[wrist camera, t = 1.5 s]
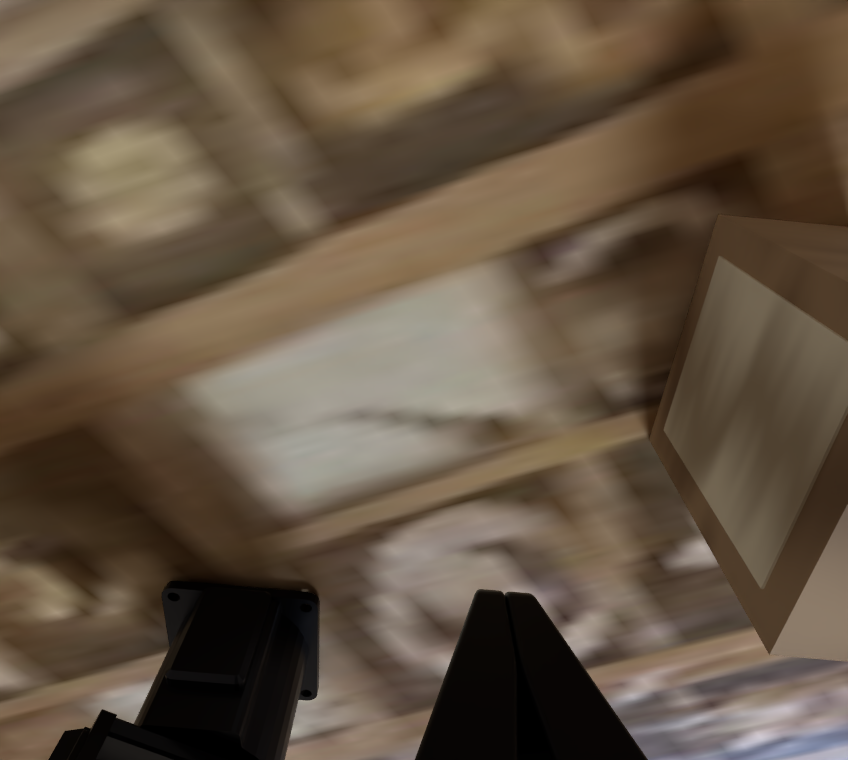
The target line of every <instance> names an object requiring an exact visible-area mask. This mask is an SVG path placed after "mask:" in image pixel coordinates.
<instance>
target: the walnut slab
mask: <svg viewBox="0 0 848 760" xmlns="http://www.w3.org/2000/svg"><path fill="white" fill-rule="evenodd" d="M649 440H650V442H651V444H652V445H653V447H654V449H655V451H656V453H657V454H658V456H659V458H660V460H661V462H662V463H663V465H664V467H665V469H666V470H667V472H668V474H669V476H670V478H671V479H672V481H673V483H674V485H675V487H676V488H677V490H678V492H679V494H680V496H681V497H682V499H683V501H684V503H685V504H686V506H687V508H688V510H689V512H690V513H691V515H692V517H693V519H694V521H695V522H696V524H697V526H698V528H699V530H700V531H701V533H702V535H703V537H704V539H705V540H706V542H707V544H708V546H709V547H710V549H711V551H712V553H713V555H714V556H715V558H716V560H717V562H718V564H719V565H720V567H721V569H722V571H723V573H724V574H725V576H726V578H727V580H728V581H729V583H730V585H731V587H732V589H733V590H734V592H735V594H736V596H737V598H738V599H739V601H740V603H741V605H742V607H743V608H744V610H745V612H746V614H747V616H748V617H749V619H750V621H751V623H752V624H753V626H754V628H755V630H756V632H757V633H758V635H759V637H760V639H761V641H762V642H763V644H764V646H765V648H766V650H767V651H768V653H769V655H777V656H789V657H801V658H813V659H825V660H837V661H848V227H846V226H836V225H825V224H815V223H804V222H793V221H783V220H772V219H762V218H751V217H741V216H730V215H720V214H718V217H717V220H716V223H715V226H714V230H713V233H712V236H711V239H710V243H709V246H708V249H707V252H706V256H705V259H704V262H703V265H702V269H701V272H700V275H699V278H698V282H697V285H696V288H695V291H694V295H693V298H692V301H691V304H690V308H689V311H688V314H687V318H686V321H685V324H684V327H683V331H682V334H681V337H680V340H679V344H678V347H677V350H676V353H675V357H674V360H673V363H672V366H671V370H670V373H669V376H668V379H667V383H666V386H665V389H664V392H663V396H662V399H661V402H660V405H659V409H658V412H657V415H656V418H655V422H654V425H653V428H652V431H651V435H650V438H649Z"/></svg>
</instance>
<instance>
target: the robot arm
mask: <svg viewBox="0 0 848 760" xmlns="http://www.w3.org/2000/svg"><path fill="white" fill-rule="evenodd" d="M176 593H177V594H176ZM162 601H163V608H164V614H165V620H166V627H167V633H168V640H169V646H170V648H169V651H168V653H167V655H166V657H165V659H164V661H163V663H162V665H161V668H160V670H159V672H158V674H157V676H156V678H155V680H154V682H153V684H152V687H151V689H150V691H149V693H148V695H147V697H146V699H145V701H144V703H143V706H142V708H141V710H140V712H139V714H138V716H137V718H136V720H135V723H134V724H132V723H129V722H126V721H124V720H121V719H118V718H116V716H117V715H116V714H114V713H111V712H108V711H106V710H103V709H102V710H101V712H100V714H99V715H98V717H97V719H96V721H95V722H94V724H93V726H92V727H91V729H90V728H88V727H84V729H77V730H69V731H65V732H64V733H63V735H62V737H61V739H60V740H59V742H58V744H57V746H56V747H55V749H54V751H53V753H52V754H51V756H50V758H49V760H285V756H286V752H287V747H288V743H289V738H290V734H291V730H292V725H293V721H294V717H295V712H296V708H297V704H298V700H312V699H314V698H316V696H317V692H318V687H319V611H320V601H319V598H318V597H317V596H316V595H315V594H313V593H310V592H301V591H289V590H278V589H266V588H254V587H242V586H230V585H218V584H207V583H195V582H183V581H171V582H169V583H168V584H167V585H166V586H165V588H164V590H163V592H162ZM306 604H309V605H306ZM415 760H648V759H647V758H646V757H645V755H644V754H643V752H642V751H641V749H640V748H639V746H638V745H637V744H636V742H635V741H634V739H633V738H632V736H631V735H630V733H629V732H628V731H627V729H626V728H625V726H624V725H623V723H622V722H621V720H620V719H619V718H618V716H617V715H616V713H615V712H614V710H613V709H612V708H611V706H610V705H609V703H608V702H607V700H606V699H605V697H604V696H603V695H602V693H601V692H600V690H599V689H598V687H597V686H596V684H595V683H594V682H593V680H592V679H591V677H590V676H589V674H588V673H587V671H586V670H585V669H584V667H583V666H582V664H581V663H580V661H579V660H578V658H577V657H576V656H575V654H574V653H573V651H572V650H571V648H570V647H569V645H568V644H567V643H566V641H565V640H564V638H563V637H562V635H561V634H560V632H559V631H558V630H557V628H556V627H555V625H554V624H553V622H552V621H551V619H550V618H549V617H548V615H547V614H546V612H545V611H544V609H543V608H542V607H541V605H540V604H539V602H538V601H537V599H536V598H535V597H534V596H533V595H532V594H529V593H519V592H507V593H505V595H504V594H503V592H501V591H496V590H484V589H479V590H477V591H476V593H475V595H474V598H473V601H472V604H471V606H470V609H469V612H468V615H467V617H466V620H465V623H464V626H463V629H462V631H461V634H460V637H459V640H458V642H457V645H456V648H455V651H454V653H453V656H452V659H451V662H450V664H449V667H448V670H447V673H446V675H445V678H444V681H443V684H442V686H441V689H440V692H439V695H438V697H437V700H436V703H435V706H434V708H433V711H432V714H431V717H430V720H429V722H428V725H427V728H426V731H425V733H424V736H423V739H422V742H421V744H420V747H419V750H418V753H417V755H416V758H415Z"/></svg>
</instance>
